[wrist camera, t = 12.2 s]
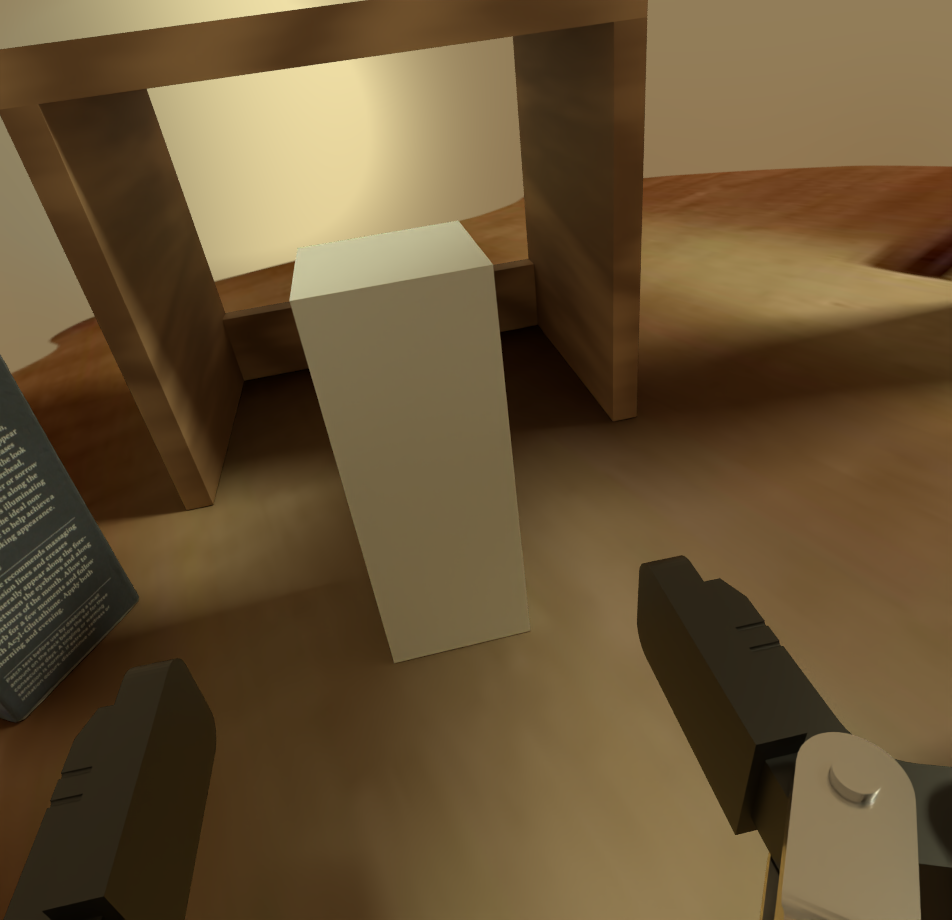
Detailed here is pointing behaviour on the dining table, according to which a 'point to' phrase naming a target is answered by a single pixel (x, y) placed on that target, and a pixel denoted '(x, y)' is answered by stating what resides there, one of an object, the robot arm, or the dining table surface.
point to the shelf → (273, 327)
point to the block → (419, 428)
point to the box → (47, 564)
